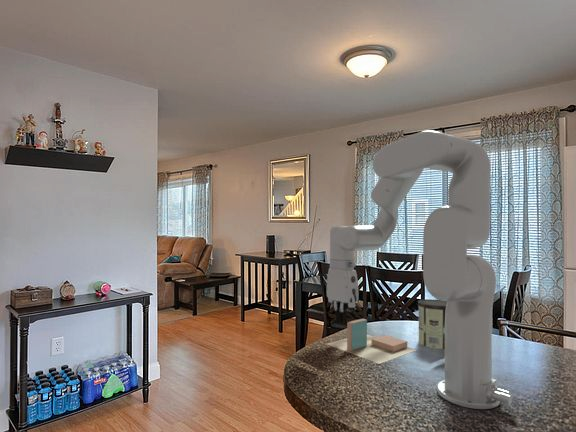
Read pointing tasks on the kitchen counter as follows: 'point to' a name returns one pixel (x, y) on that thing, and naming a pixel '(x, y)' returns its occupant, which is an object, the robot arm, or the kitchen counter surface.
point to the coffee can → (432, 323)
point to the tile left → (356, 334)
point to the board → (372, 351)
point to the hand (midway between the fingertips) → (341, 323)
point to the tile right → (389, 343)
